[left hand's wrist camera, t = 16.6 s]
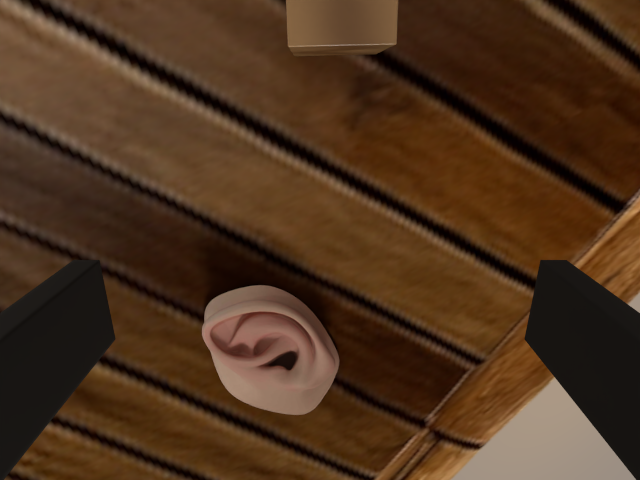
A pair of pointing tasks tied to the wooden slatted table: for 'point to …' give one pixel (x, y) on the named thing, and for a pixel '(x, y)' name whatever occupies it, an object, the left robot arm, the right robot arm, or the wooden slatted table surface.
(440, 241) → the wooden slatted table surface
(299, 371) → the anatomical model
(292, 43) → the block
